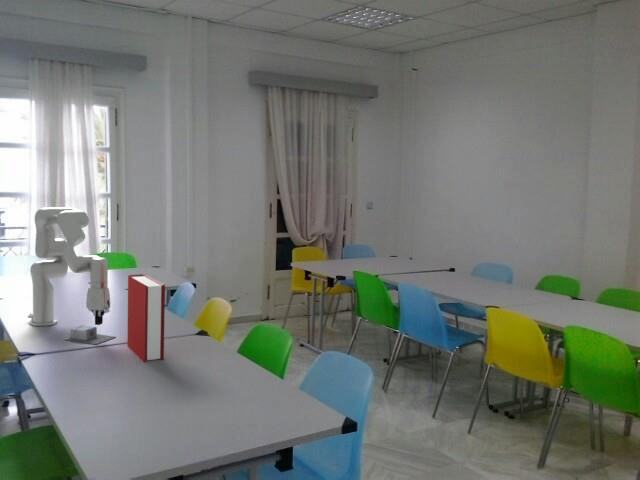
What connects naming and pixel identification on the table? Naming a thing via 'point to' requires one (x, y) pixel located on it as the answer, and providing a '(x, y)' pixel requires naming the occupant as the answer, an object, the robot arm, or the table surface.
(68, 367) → the table surface
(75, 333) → the medicine box
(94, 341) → the charcoal rubber mat
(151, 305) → the book
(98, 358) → the table surface
